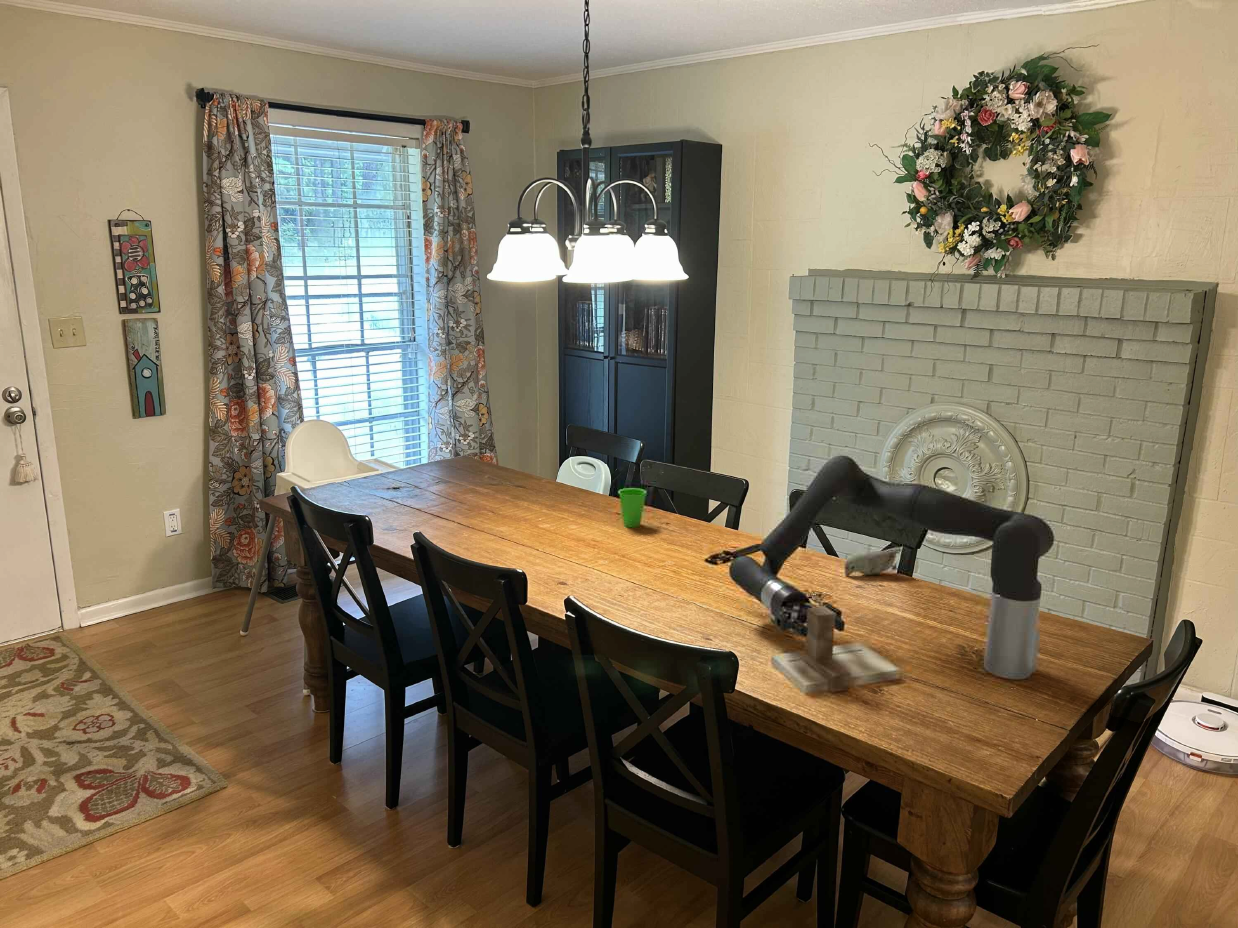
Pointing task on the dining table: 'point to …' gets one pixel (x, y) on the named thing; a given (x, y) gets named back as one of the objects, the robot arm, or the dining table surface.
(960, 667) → the dining table surface
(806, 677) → the maple board
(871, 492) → the robot arm
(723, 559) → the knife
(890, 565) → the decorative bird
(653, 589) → the dining table surface
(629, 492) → the cup
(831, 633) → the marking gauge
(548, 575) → the dining table surface
